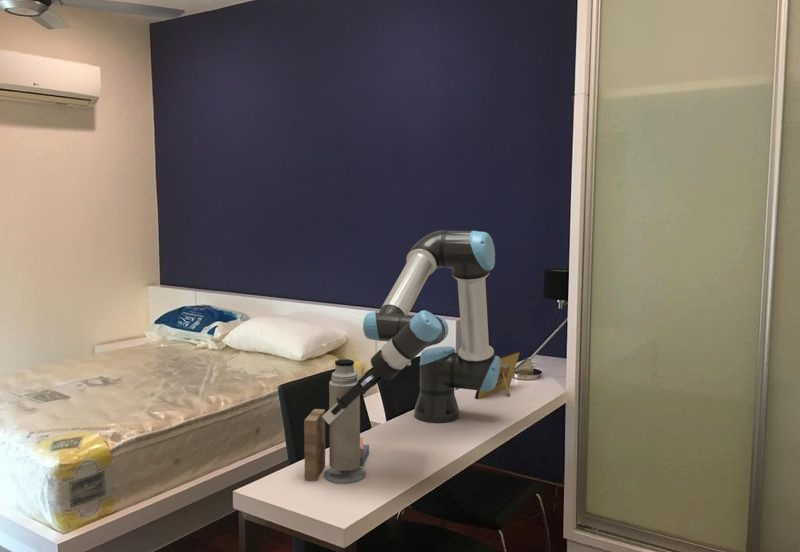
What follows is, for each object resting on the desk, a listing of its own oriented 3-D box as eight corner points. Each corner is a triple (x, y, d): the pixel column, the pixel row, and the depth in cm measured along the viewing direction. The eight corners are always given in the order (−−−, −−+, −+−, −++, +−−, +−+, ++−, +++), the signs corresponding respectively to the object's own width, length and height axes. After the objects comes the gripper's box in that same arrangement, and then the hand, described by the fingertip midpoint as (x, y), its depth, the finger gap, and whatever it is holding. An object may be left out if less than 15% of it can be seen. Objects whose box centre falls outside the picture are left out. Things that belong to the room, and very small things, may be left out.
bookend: (314, 465, 187) (314, 408, 185) (325, 466, 187) (325, 409, 185) (304, 480, 177) (304, 420, 176) (316, 481, 177) (315, 421, 175)
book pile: (343, 451, 198) (343, 436, 197) (369, 453, 197) (369, 437, 196) (335, 465, 188) (334, 448, 187) (362, 467, 187) (362, 450, 186)
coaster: (329, 466, 187) (329, 464, 187) (369, 468, 186) (369, 466, 186) (319, 482, 176) (319, 480, 176) (361, 484, 175) (361, 483, 175)
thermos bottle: (330, 459, 184) (329, 357, 181) (359, 459, 185) (359, 357, 182) (328, 471, 176) (328, 364, 173) (360, 470, 177) (359, 363, 174)
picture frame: (506, 385, 270) (511, 349, 267) (526, 392, 265) (531, 355, 262) (474, 398, 252) (478, 359, 250) (495, 405, 247) (500, 366, 244)
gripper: (387, 380, 163) (325, 438, 170) (412, 361, 183) (356, 414, 189) (367, 357, 164) (306, 415, 171) (393, 340, 184) (338, 394, 190)
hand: (332, 415), depth 180 cm, fingers closed on thermos bottle, 8 cm apart
